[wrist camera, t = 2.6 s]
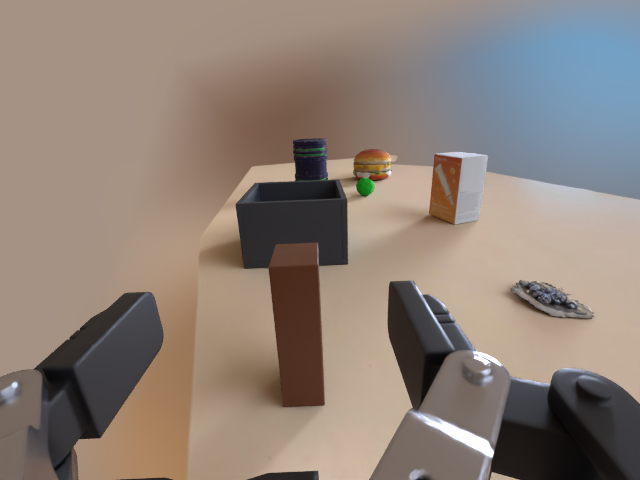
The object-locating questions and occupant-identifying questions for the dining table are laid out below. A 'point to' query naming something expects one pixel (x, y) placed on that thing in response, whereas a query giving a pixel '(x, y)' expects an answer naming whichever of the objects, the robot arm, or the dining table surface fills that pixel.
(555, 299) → the grey flat lumpy piece
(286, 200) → the waste bin
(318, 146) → the navy striped cylinder
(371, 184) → the polyhedron
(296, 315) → the chocolate carton
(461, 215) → the small box
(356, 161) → the burger
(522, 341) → the dining table surface
